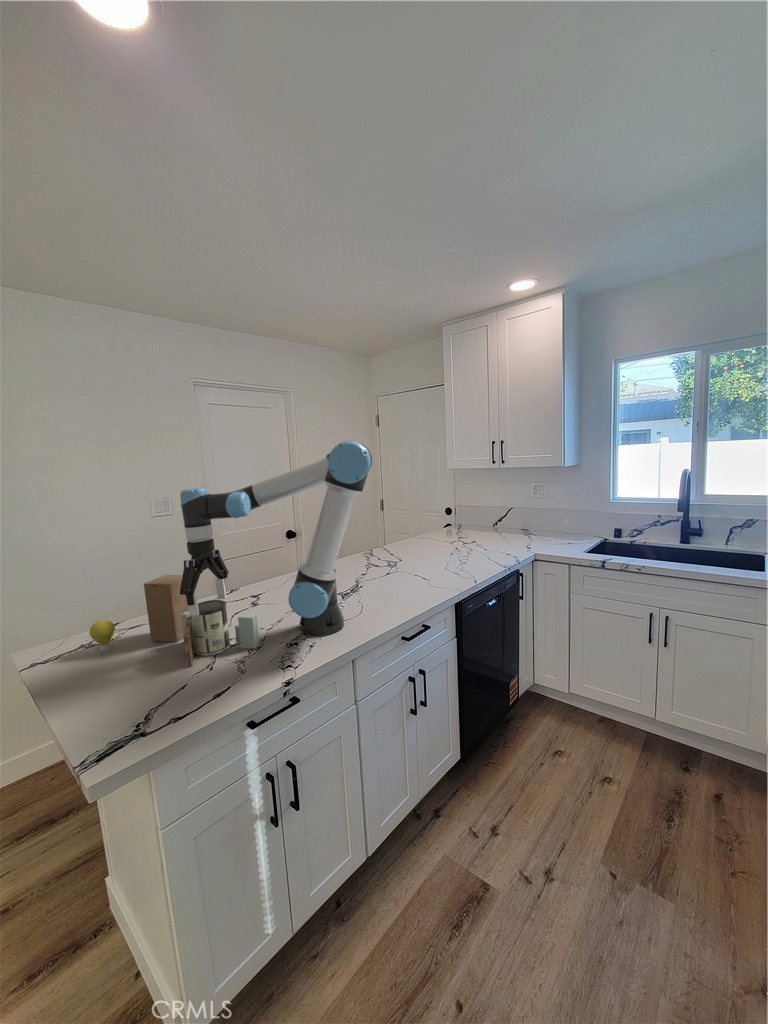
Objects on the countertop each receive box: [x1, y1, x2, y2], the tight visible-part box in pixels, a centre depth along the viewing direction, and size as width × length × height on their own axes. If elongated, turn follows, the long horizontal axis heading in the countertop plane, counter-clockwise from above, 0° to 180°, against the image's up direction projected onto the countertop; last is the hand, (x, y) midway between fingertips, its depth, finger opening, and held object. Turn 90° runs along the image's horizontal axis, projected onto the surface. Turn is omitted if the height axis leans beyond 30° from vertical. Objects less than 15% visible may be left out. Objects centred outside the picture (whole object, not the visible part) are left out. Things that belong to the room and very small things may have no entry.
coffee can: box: [191, 599, 231, 657], centre depth 131 cm, size 10×10×14 cm
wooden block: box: [143, 574, 191, 643], centre depth 142 cm, size 10×10×20 cm
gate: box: [182, 615, 196, 667], centre depth 129 cm, size 18×1×9 cm, turn 20°
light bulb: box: [89, 619, 116, 653], centre depth 134 cm, size 7×7×10 cm
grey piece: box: [181, 612, 260, 649], centre depth 134 cm, size 26×3×10 cm, turn 77°
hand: (209, 606), depth 130 cm, fingers open, 13 cm apart
